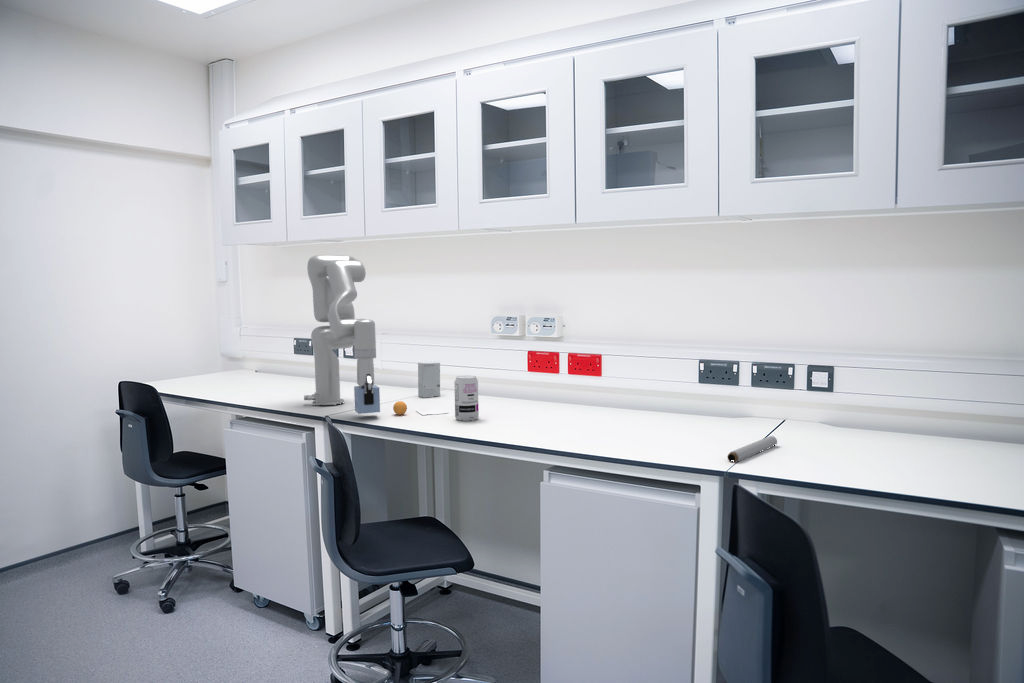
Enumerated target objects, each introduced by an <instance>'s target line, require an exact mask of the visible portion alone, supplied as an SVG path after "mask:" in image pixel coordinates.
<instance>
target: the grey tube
mask: <svg viewBox="0 0 1024 683" xmlns="http://www.w3.org/2000/svg"><path fill="white" fill-rule="evenodd" d="M775 444H776V445H777V444H778V439H777V438H776V437H775V436H774V435H770V436H767V437H765V438H762V439H759V440H757V441H754V442H752V443H749V444H747V445H744V446H742V447H739V448H737V449H735V450H732V451H730V452H729V453H728V454H727V460H728V461H729V462H730V461H731V460H734V463H737V462H736V461H739V462H741V461H743V460H746V459H747V457H748V458H749V456H750V457H752V456H751V455H753V456H755V455H757V454H759V453H758V452H760V451H762V450H764V449H767V448H769V447H771V446H773V445H775ZM771 448H772V447H771ZM769 449H770V448H769ZM767 450H768V449H767ZM764 451H765V450H764ZM762 452H763V451H762ZM756 453H757V454H756ZM760 453H761V452H760ZM754 454H755V455H754ZM745 458H746V459H745ZM742 459H743V460H742ZM740 460H741V461H740Z"/></svg>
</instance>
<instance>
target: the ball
mask: <svg viewBox="0 0 1024 683" xmlns="http://www.w3.org/2000/svg"><path fill="white" fill-rule="evenodd" d="M407 406H408V405H407V404H406V403H405V401H401V400H400V401H396V402H395V403H394V404H393V407H392V410H393V412H394V413H395V414H396V415H399V416H402V415H404V414H406V413H407V409H408V407H407Z"/></svg>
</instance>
